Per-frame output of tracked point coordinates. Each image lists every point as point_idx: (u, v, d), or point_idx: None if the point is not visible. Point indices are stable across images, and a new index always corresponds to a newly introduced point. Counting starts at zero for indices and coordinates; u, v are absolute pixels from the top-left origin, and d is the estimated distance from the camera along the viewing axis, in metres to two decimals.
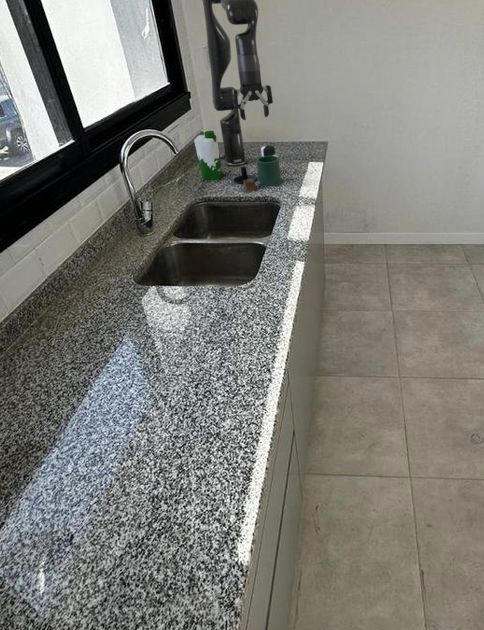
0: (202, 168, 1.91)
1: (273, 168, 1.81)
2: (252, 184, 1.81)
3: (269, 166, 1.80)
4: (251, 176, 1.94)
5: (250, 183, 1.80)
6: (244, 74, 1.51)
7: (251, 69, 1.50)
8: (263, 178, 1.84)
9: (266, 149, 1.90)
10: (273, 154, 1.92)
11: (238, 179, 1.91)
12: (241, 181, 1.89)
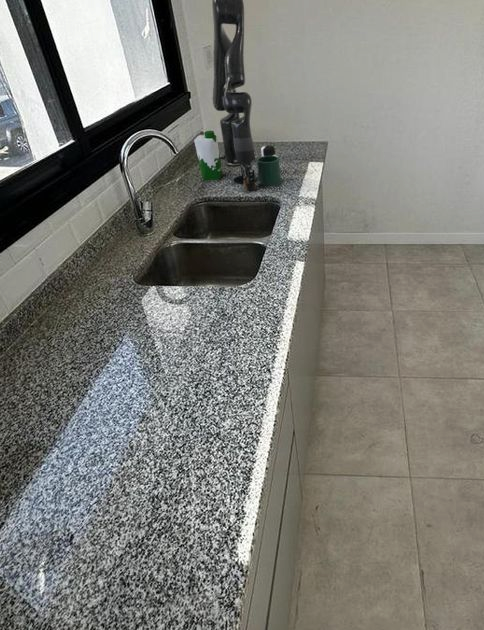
0: (202, 168, 1.91)
1: (273, 168, 1.81)
2: None
3: (269, 166, 1.80)
4: None
5: None
6: None
7: (234, 148, 1.72)
8: (263, 178, 1.84)
9: (266, 149, 1.90)
10: (273, 154, 1.92)
11: (238, 179, 1.91)
12: (241, 181, 1.89)
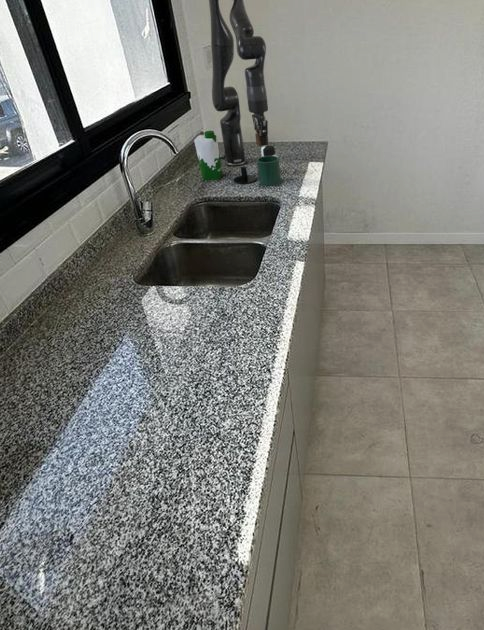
0: (202, 168, 1.91)
1: (273, 168, 1.81)
2: None
3: (269, 166, 1.80)
4: (251, 176, 1.94)
5: None
6: None
7: (247, 98, 1.67)
8: (263, 178, 1.84)
9: (266, 149, 1.90)
10: (273, 154, 1.92)
11: (238, 179, 1.91)
12: (241, 181, 1.89)
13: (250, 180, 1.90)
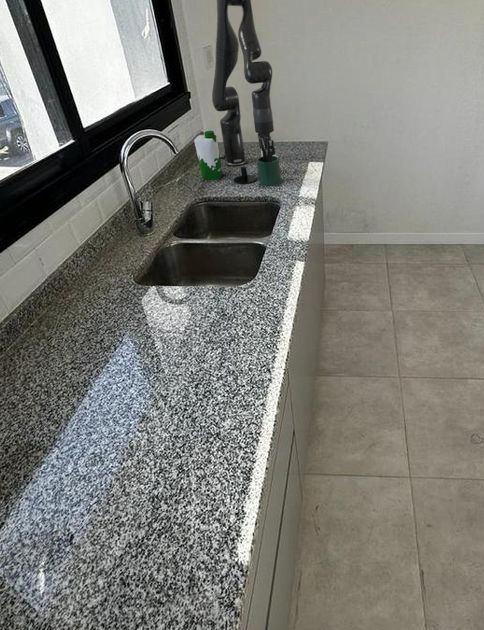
0: (202, 168, 1.91)
1: (273, 168, 1.81)
2: None
3: (269, 166, 1.80)
4: (251, 176, 1.94)
5: None
6: None
7: (254, 119, 1.72)
8: (263, 178, 1.84)
9: None
10: (273, 154, 1.92)
11: (238, 179, 1.91)
12: (241, 181, 1.89)
13: (250, 180, 1.90)
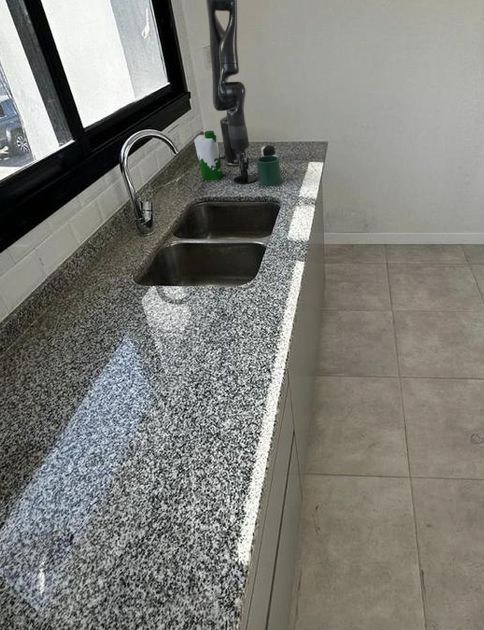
0: (202, 168, 1.91)
1: (273, 168, 1.81)
2: None
3: (269, 166, 1.80)
4: (251, 176, 1.94)
5: None
6: None
7: (229, 136, 1.80)
8: (263, 178, 1.84)
9: (266, 149, 1.90)
10: (273, 154, 1.92)
11: (238, 179, 1.91)
12: (241, 181, 1.89)
13: (250, 180, 1.90)
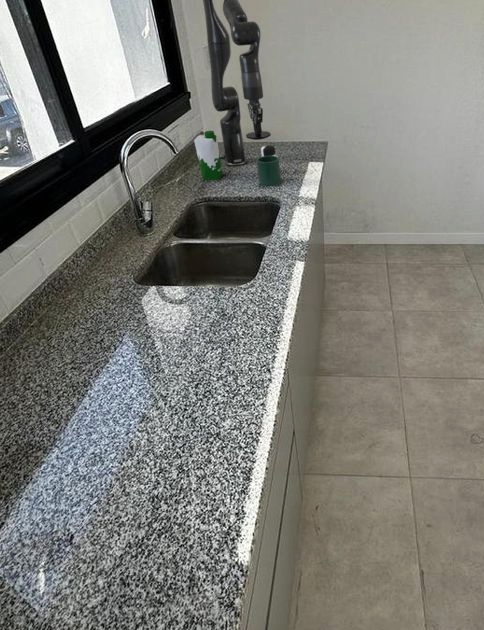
0: (202, 168, 1.91)
1: (273, 168, 1.81)
2: None
3: (269, 166, 1.80)
4: (265, 132, 1.80)
5: None
6: None
7: (242, 85, 1.66)
8: (263, 178, 1.84)
9: (266, 149, 1.90)
10: (273, 154, 1.92)
11: (251, 134, 1.77)
12: (254, 136, 1.75)
13: (264, 135, 1.76)
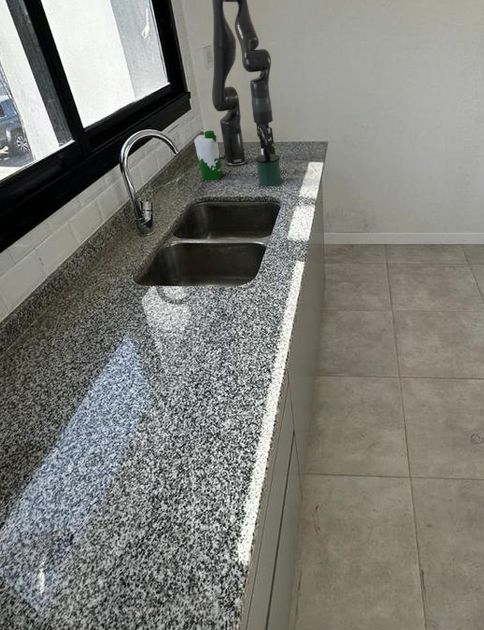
0: (202, 168, 1.91)
1: (273, 168, 1.81)
2: None
3: (269, 166, 1.80)
4: (274, 155, 1.85)
5: None
6: None
7: (252, 109, 1.70)
8: (263, 178, 1.84)
9: None
10: None
11: (260, 158, 1.82)
12: (264, 160, 1.80)
13: (273, 159, 1.81)
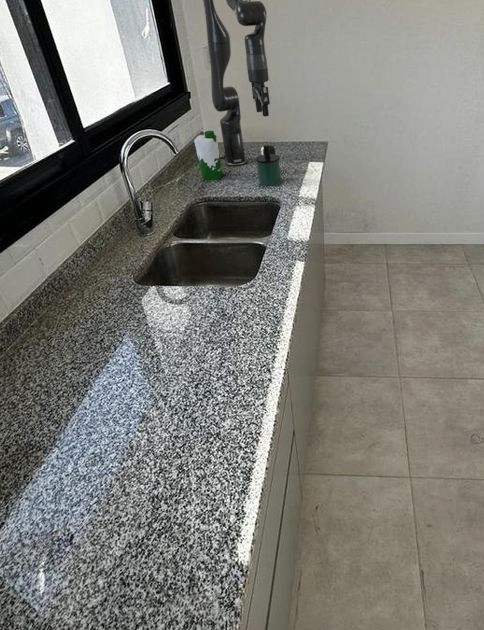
0: (202, 168, 1.91)
1: (273, 168, 1.81)
2: None
3: (269, 166, 1.80)
4: (274, 155, 1.85)
5: None
6: None
7: (247, 67, 1.61)
8: (263, 178, 1.84)
9: None
10: None
11: (260, 158, 1.82)
12: (264, 160, 1.80)
13: (273, 159, 1.81)
